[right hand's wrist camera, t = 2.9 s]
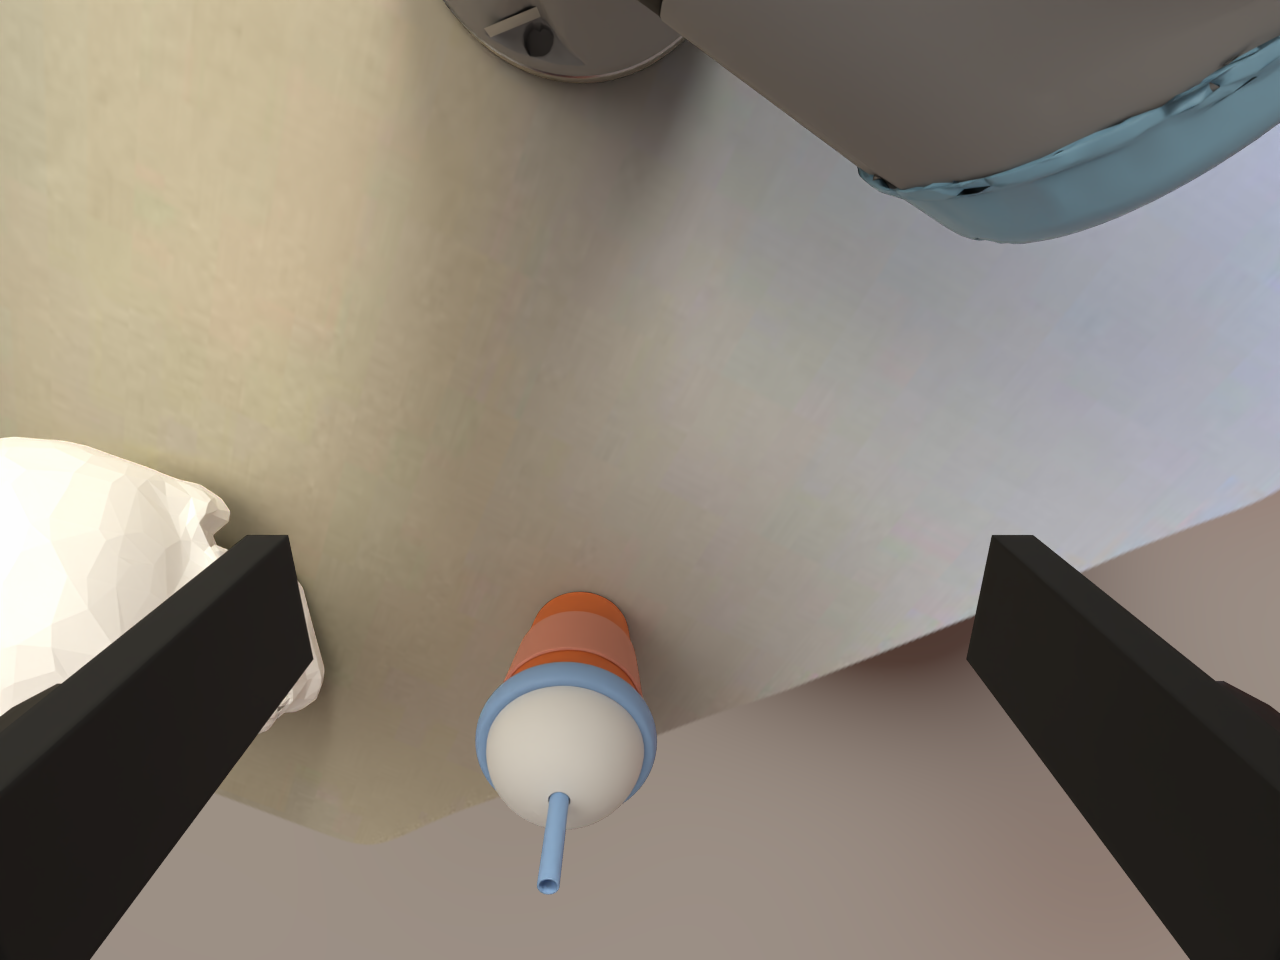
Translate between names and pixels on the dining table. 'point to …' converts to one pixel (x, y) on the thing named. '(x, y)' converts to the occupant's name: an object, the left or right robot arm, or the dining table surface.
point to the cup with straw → (568, 724)
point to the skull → (97, 560)
